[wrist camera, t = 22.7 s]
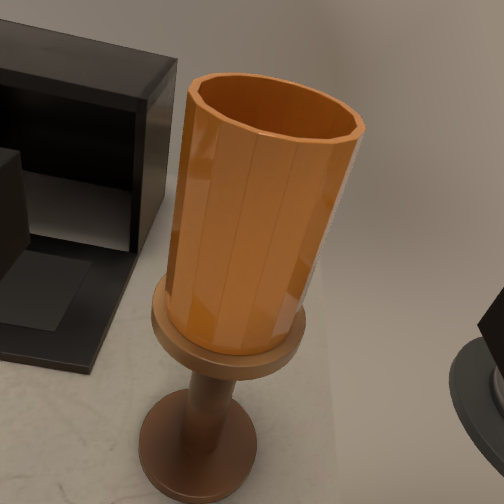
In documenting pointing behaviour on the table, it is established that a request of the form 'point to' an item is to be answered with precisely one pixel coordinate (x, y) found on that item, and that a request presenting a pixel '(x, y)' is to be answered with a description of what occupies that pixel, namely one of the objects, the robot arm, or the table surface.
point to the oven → (79, 169)
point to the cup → (253, 206)
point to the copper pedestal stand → (204, 415)
